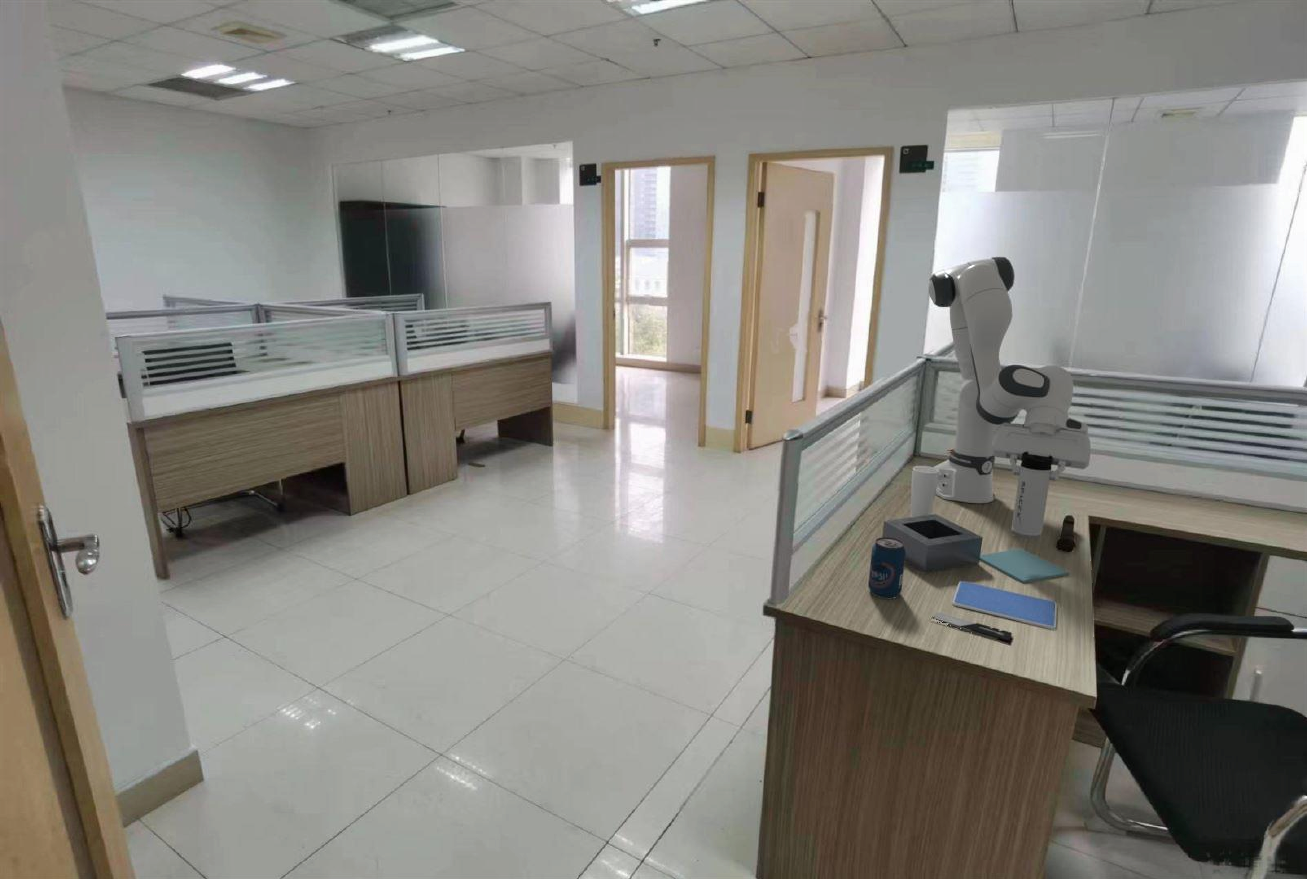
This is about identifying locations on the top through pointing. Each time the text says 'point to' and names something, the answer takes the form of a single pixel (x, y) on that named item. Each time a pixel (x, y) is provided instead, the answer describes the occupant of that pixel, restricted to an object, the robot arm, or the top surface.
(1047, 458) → the travel mug
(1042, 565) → the rubber mat
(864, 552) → the top surface
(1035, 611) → the tablet computer
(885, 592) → the soda can
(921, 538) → the square collar
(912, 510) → the white tall cylinder
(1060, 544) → the hand tool
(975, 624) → the knife
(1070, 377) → the robot arm
